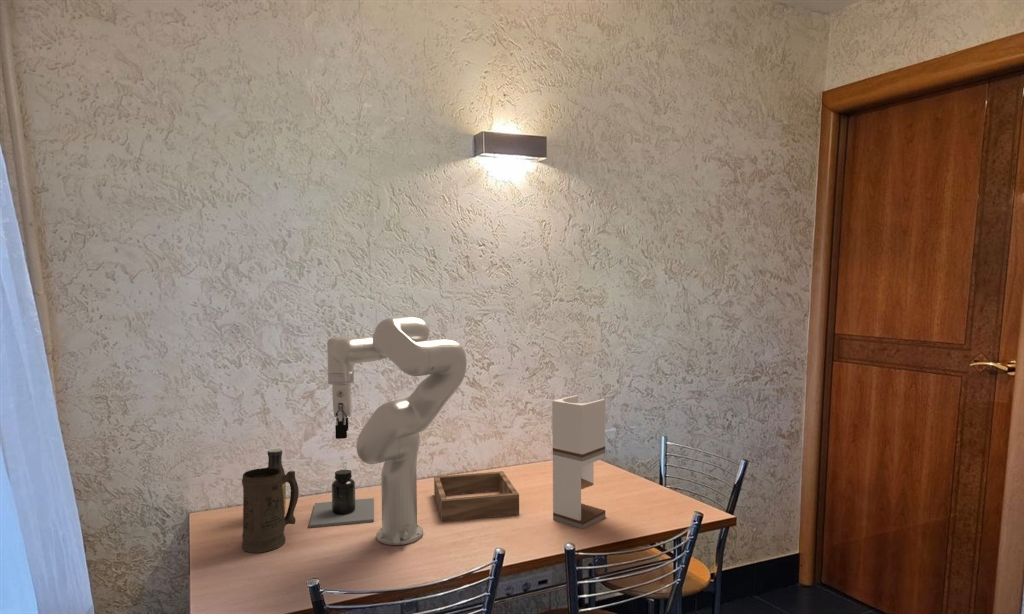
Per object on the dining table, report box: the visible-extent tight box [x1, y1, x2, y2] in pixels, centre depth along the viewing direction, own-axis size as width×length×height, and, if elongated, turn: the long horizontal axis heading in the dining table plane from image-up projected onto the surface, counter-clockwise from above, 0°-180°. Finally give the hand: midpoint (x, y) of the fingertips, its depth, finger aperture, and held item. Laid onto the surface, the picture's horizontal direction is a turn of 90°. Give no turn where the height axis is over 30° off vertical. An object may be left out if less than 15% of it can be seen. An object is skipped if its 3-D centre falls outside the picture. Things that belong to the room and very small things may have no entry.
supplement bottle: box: [331, 469, 356, 515], centre depth 182 cm, size 7×7×12 cm
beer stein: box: [241, 467, 300, 554], centre depth 162 cm, size 15×11×20 cm
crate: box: [433, 471, 520, 522], centre depth 189 cm, size 23×23×6 cm
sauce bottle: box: [266, 448, 287, 515], centre depth 181 cm, size 6×6×20 cm
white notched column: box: [551, 394, 606, 530], centre depth 177 cm, size 11×11×35 cm
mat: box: [308, 497, 375, 529], centre depth 183 cm, size 18×18×1 cm
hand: (342, 434), depth 182 cm, fingers open, 9 cm apart
